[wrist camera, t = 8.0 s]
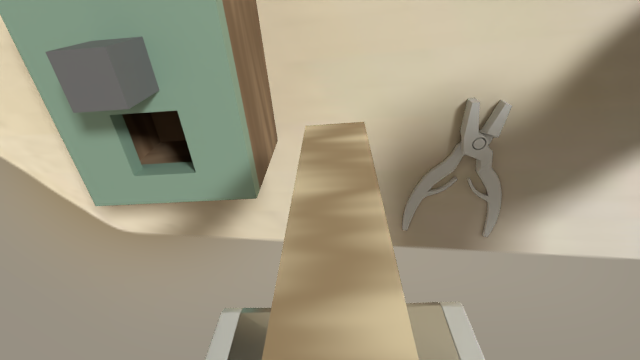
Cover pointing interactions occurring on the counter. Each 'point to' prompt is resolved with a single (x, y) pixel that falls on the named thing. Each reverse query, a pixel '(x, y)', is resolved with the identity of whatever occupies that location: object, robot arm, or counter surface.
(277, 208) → the counter surface
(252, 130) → the toolbox
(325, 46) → the counter surface
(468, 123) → the pliers
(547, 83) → the counter surface
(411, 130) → the counter surface
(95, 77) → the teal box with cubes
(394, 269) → the wooden block
